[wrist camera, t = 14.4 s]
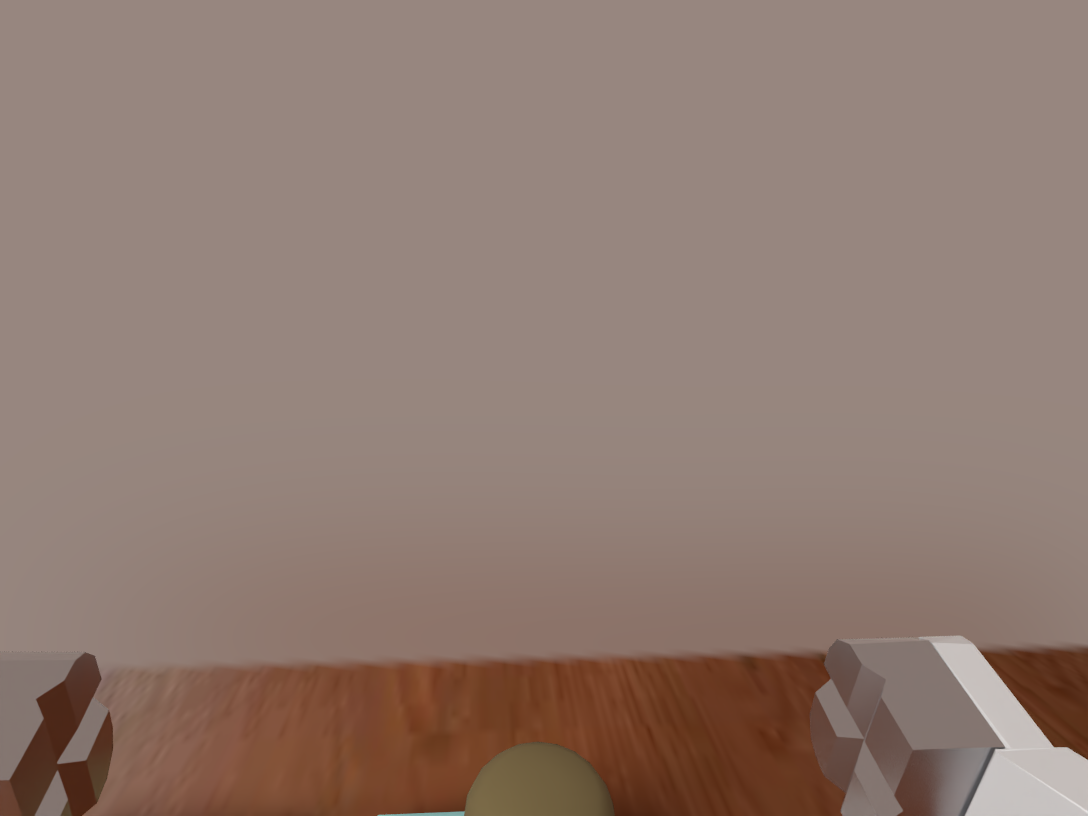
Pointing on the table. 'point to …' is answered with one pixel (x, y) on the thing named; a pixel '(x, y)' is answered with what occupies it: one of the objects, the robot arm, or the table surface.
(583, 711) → the table surface
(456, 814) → the teal socket
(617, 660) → the table surface
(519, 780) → the olive pawn
